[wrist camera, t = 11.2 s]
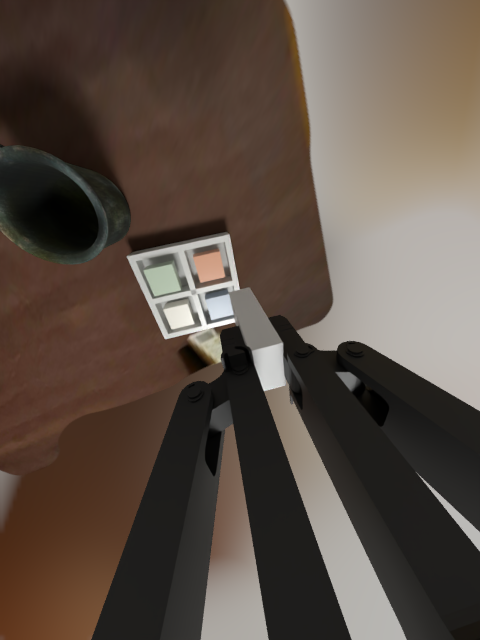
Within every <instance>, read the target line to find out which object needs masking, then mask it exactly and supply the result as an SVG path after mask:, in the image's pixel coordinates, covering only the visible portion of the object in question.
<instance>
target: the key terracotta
mask: <svg viewBox="0 0 480 640" xmlns="http://www.w3.org/2000/svg"><path fill="white" fill-rule="evenodd" d="M193 259H194V263H195V266H196V269H197V273H198V276H199V280H200V283H202V282H206V281H211V280H215V279H219V278H224V277H225V273H224V268H223V264H222V259H221V255H220V251H219V248H218V249H214V250H209V251H204V252H200V253H195V254H193Z"/></svg>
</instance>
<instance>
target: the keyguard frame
mask: <svg viewBox="0 0 480 640" xmlns="http://www.w3.org/2000/svg"><path fill="white" fill-rule="evenodd" d="M218 248H219V251H220V255H221V259H222V264H223V268H224V273H225V277H224V278H219V279H215V280H211V281H206V282H202V283H200V280H199V276H198V273H197V269H196V266H195V263H194V259H193V254H195V253H200V252H204V251H209V250H214V249H218ZM127 258H128V260H129V263H130V265H131V267H132V269H133V271H134V273H135V276H136V278H137V280H138V282H139V284H140V286H141V288H142V291H143V293H144V295H145V297H146V299H147V301H148V304H149V306H150V308H151V310H152V312H153V314H154V317H155V319H156V321H157V323H158V325H159V327H160V329H161V332H162V334H163V336H164V338H165V339H168V338H172V337H177V336H181V335H185V334H189V333H193V332H197V331H201V330H205V329H209V328H213V327H217V326H221V325H226V324H230V323H234V322H235V318H234V315H230V316H226V317H222V318H218V319H214V320H211V317H210V314H209V310H208V307H207V304H206V300H205V294H209V293H213V292H218V291H222V290H226V289H228V292H232V291H237V290H240V289H239V283H238V278H237V272H236V267H235V262H234V256H233V251H232V246H231V240H230V235H229V233H228V232H223V233H219V234H214V235H209V236H205V237H200V238H195V239H191V240H186V241H181V242H177V243H172V244H167V245H163V246H158V247H153V248H149V249H144V250H139V251H135V252H132V253H131V254H129V255H128V256H127ZM172 260H174V263H175V266H176V269H177V272H178V275H179V278H180V281H181V284H182V288H181V290H180V291H176V292H171V293H167V294H163V295H158V296H154V294H153V292H152V290H151V287H150V285H149V283H148V280H147V278H146V276H145V274H144V271H143V270H144V269H145V267H146V266H149V265H154V264H158V263H163V262H168V261H172ZM187 298H188V300H189V303H190V306H191V308H192V311H193V314H194V317H195V324H193V325H189V326H184V327H180V328H176V329H171V327H170V325H169V322H168V320H167V318H166V315H165V313H164V311H163V308H164V305H165V304H166V303H170V302H175V301H179V300H183V299H187Z"/></svg>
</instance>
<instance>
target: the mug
mask: <svg viewBox="0 0 480 640" xmlns="http://www.w3.org/2000/svg"><path fill="white" fill-rule="evenodd" d="M130 222H131V217H130V210H129V207H128V204H127V202H126V200H125V198H124V196H123V195H122V193H121V192H120V190H119V189H118V188H117V187H116V186H115V185H114V184H113V183H112V182H111V181H110V180H108V179H107V178H106V177H104V176H103V175H101V174H99V173H97V172H95V171H93V170H89V169H86V168H82V167H79V166H76V165H72V164H69V163H65V162H64V161H62V160H60V159H59V158H57V157H55V156H53V155H51V154H49V153H47V152H44V151H42V150H39V149H36V148H32V147H27V146H19V145H15V146H3V145H1V144H0V231H1V232H2V233H3V234H4V235H5V236H6V237H7V238H8V239H10V240H11V241H12V242H13V243H15V244H16V245H17V246H19V247H20V248H22V249H23V250H25V251H27V252H28V253H30V254H32V255H34V256H36V257H39V258H41V259H44V260H47V261H50V262H54V263H59V264H80V263H84V262H87V261H89V260H91V259H93V258H95V257H96V256H97V255H98V254H99V253H100V252H101V251H102V250H103V249H104V248H106V247H108V246H110V245H112V244H114V243H116V242H118V241H120V240H121V239H122V238H123V237H124V236H125V235H126V234H127V232H128V230H129V227H130Z"/></svg>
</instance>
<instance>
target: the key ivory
mask: <svg viewBox="0 0 480 640" xmlns="http://www.w3.org/2000/svg"><path fill="white" fill-rule="evenodd" d="M163 311H164V313H165V315H166V318H167V320H168V322H169V325H170V327H171V329H176V328H180V327H184V326H189V325H193V324H195V317H194V314H193V311H192V308H191V306H190V303H189V300H188V298H187V299H183V300H179V301H175V302H170V303H166V304H165V305H164V308H163Z"/></svg>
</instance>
